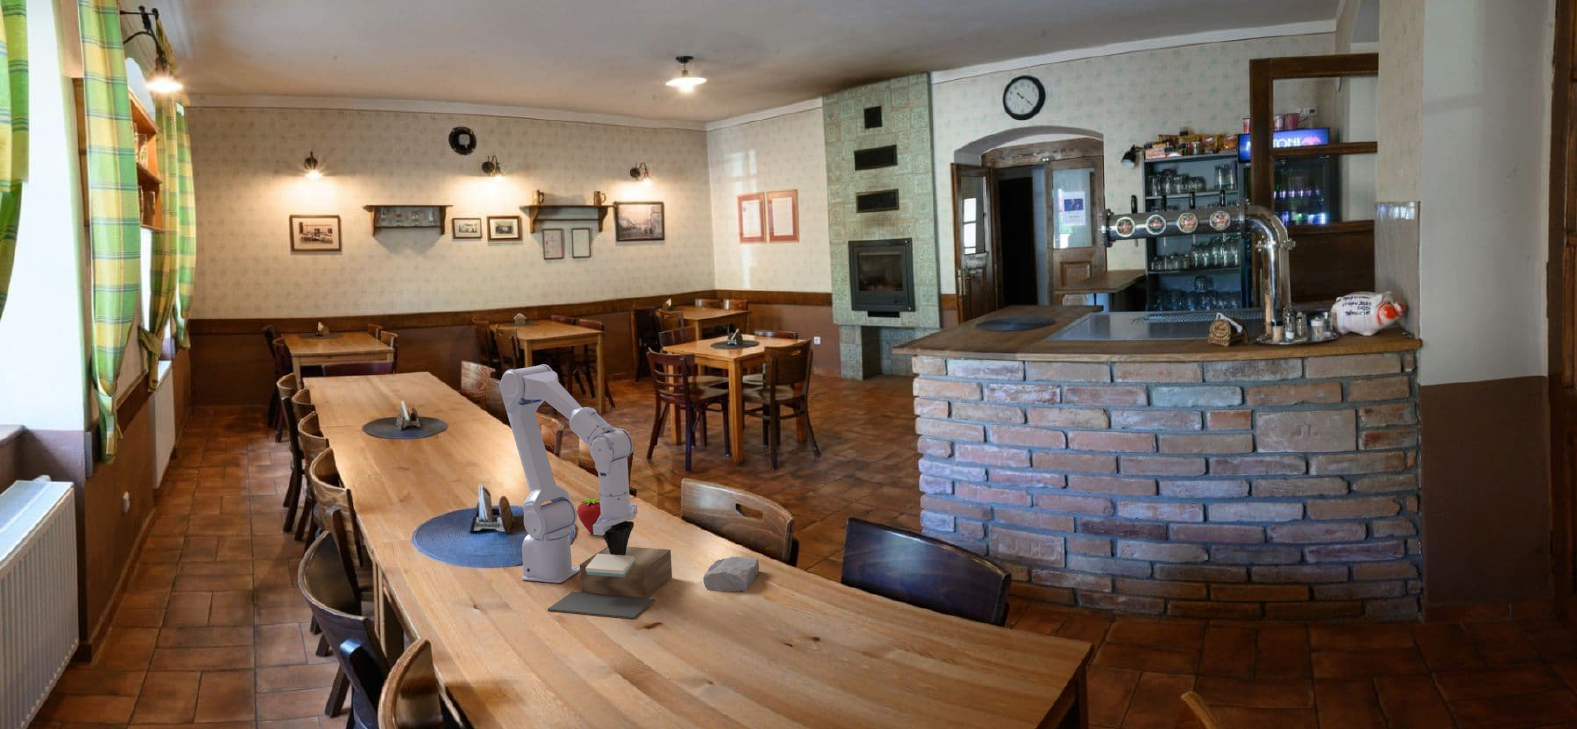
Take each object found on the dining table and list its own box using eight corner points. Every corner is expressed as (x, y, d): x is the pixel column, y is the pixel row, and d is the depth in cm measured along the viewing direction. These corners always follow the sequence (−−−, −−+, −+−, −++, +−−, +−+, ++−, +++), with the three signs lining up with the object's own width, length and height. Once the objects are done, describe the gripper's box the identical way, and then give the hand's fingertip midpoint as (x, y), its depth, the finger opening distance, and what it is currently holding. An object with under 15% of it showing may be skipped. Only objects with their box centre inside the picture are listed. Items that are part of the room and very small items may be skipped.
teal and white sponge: (586, 574, 176) (585, 567, 175) (598, 560, 180) (597, 553, 180) (624, 577, 174) (623, 570, 173) (635, 562, 178) (634, 556, 178)
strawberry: (594, 527, 225) (591, 487, 223) (611, 533, 219) (608, 492, 218) (573, 532, 220) (570, 492, 219) (590, 539, 215) (587, 497, 214)
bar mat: (547, 610, 172) (547, 608, 172) (572, 593, 181) (572, 591, 181) (633, 619, 167) (633, 617, 167) (655, 600, 176) (655, 598, 175)
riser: (581, 594, 180) (579, 564, 180) (611, 572, 192) (609, 545, 191) (645, 599, 176) (644, 569, 175) (672, 577, 187) (670, 549, 187)
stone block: (702, 600, 180) (750, 592, 178) (696, 577, 180) (744, 568, 178) (718, 580, 192) (763, 572, 190) (713, 558, 191) (758, 550, 189)
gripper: (615, 503, 170) (619, 573, 172) (649, 483, 184) (653, 549, 186) (581, 501, 172) (586, 571, 174) (617, 482, 186) (621, 546, 188)
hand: (618, 559), depth 180 cm, fingers closed
